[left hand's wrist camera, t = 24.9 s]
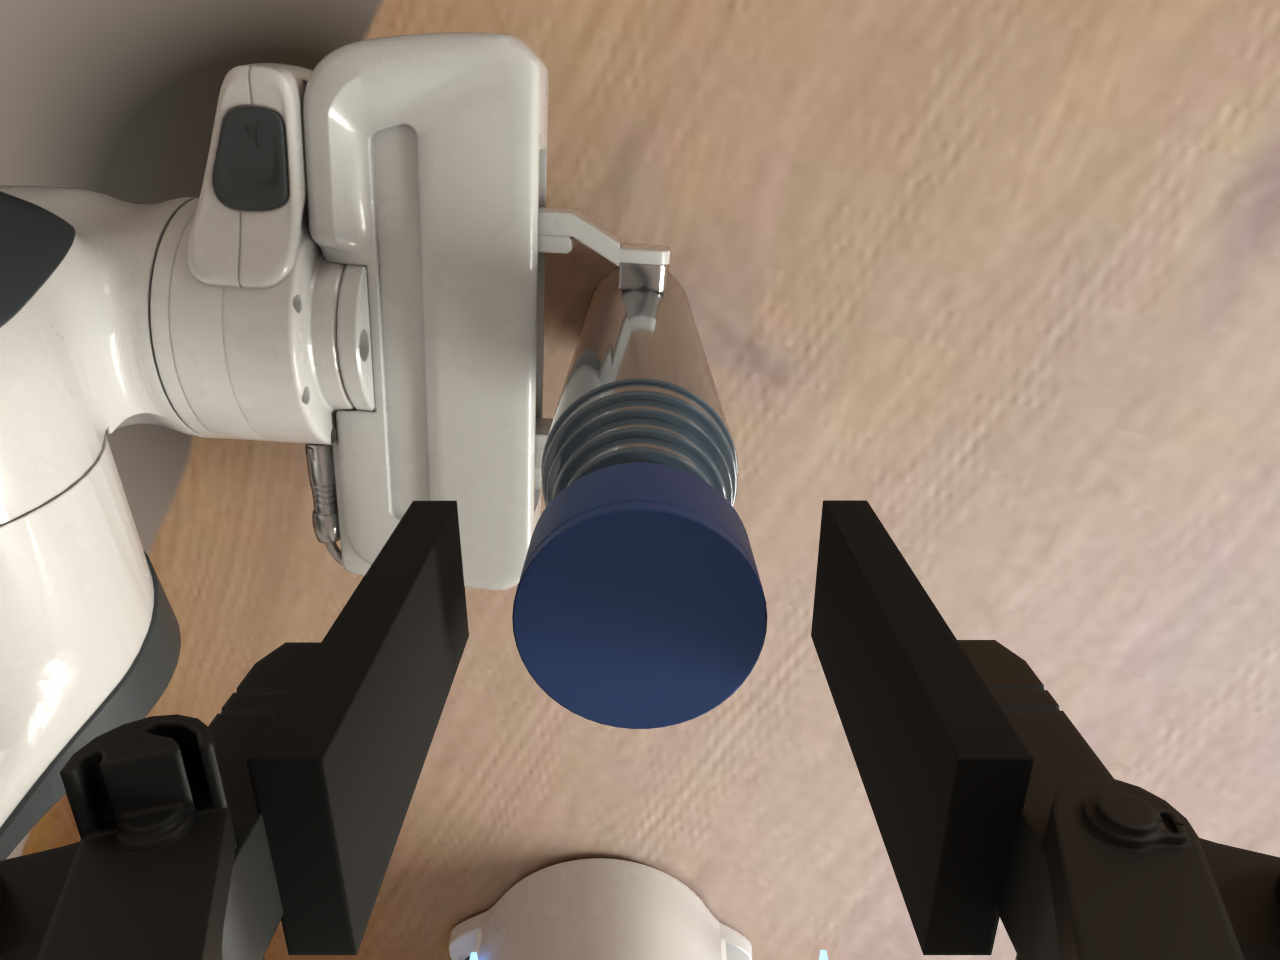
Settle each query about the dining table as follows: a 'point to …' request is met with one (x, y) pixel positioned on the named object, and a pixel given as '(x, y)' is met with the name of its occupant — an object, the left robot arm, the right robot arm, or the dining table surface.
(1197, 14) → the dining table surface
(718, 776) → the dining table surface
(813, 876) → the dining table surface
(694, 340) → the bottle
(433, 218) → the right robot arm
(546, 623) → the cap
